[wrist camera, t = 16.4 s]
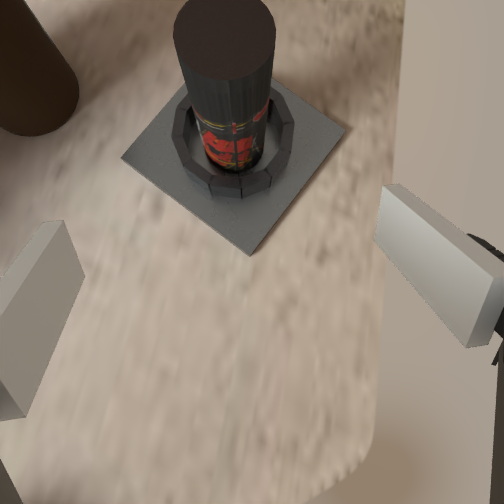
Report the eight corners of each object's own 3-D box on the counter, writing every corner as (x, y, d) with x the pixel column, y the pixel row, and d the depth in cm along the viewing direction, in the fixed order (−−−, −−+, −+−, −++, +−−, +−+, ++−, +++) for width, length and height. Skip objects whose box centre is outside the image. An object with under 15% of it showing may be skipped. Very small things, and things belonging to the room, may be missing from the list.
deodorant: (192, 137, 35) (153, 20, 20) (241, 106, 36) (237, -31, 21) (226, 185, 35) (210, 99, 20) (275, 152, 35) (296, 45, 20)
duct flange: (124, 161, 36) (108, 144, 32) (221, 47, 38) (218, 18, 34) (249, 256, 35) (249, 251, 31) (343, 134, 37) (354, 114, 33)
